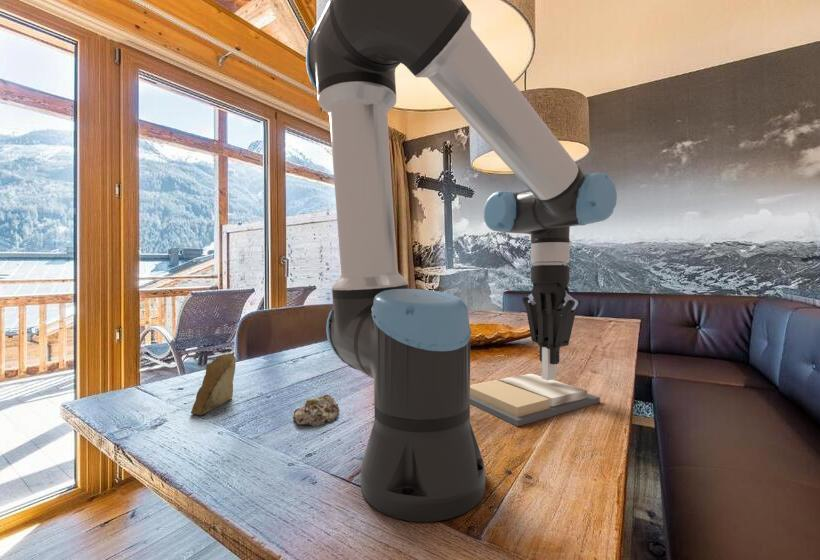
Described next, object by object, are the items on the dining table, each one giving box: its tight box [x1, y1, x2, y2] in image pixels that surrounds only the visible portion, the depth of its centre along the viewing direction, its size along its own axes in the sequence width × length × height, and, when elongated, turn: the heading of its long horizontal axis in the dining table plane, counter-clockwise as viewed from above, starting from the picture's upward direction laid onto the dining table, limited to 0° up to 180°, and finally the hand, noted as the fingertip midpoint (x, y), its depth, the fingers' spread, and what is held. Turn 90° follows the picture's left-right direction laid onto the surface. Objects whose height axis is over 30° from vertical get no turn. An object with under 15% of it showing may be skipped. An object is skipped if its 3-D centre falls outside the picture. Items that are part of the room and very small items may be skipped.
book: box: [497, 372, 588, 407], centre depth 76 cm, size 10×14×2 cm
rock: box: [190, 353, 237, 416], centre depth 73 cm, size 11×9×10 cm
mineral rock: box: [292, 394, 340, 427], centre depth 68 cm, size 11×4×8 cm
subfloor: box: [470, 379, 601, 427], centre depth 74 cm, size 22×16×3 cm
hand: (549, 378), depth 77 cm, fingers closed
